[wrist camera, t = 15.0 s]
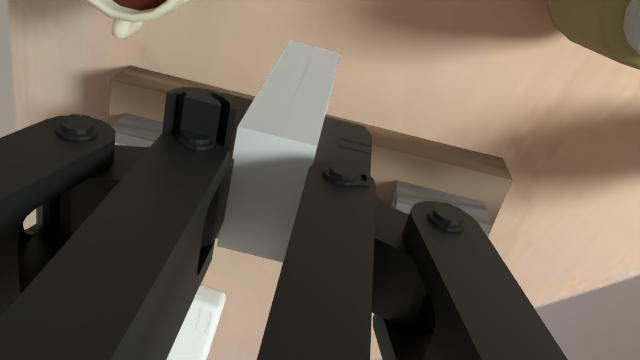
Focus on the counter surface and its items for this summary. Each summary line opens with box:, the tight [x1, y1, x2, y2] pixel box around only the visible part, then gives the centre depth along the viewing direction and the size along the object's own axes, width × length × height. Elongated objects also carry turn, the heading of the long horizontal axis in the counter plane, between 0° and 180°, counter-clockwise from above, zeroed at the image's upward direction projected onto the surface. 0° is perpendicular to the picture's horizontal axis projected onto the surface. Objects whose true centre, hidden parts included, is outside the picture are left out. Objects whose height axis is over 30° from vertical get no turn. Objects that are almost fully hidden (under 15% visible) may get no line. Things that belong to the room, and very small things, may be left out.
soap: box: [167, 285, 226, 360], centre depth 59 cm, size 9×6×3 cm, turn 162°
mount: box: [108, 66, 512, 239], centre depth 48 cm, size 12×32×8 cm, turn 77°
